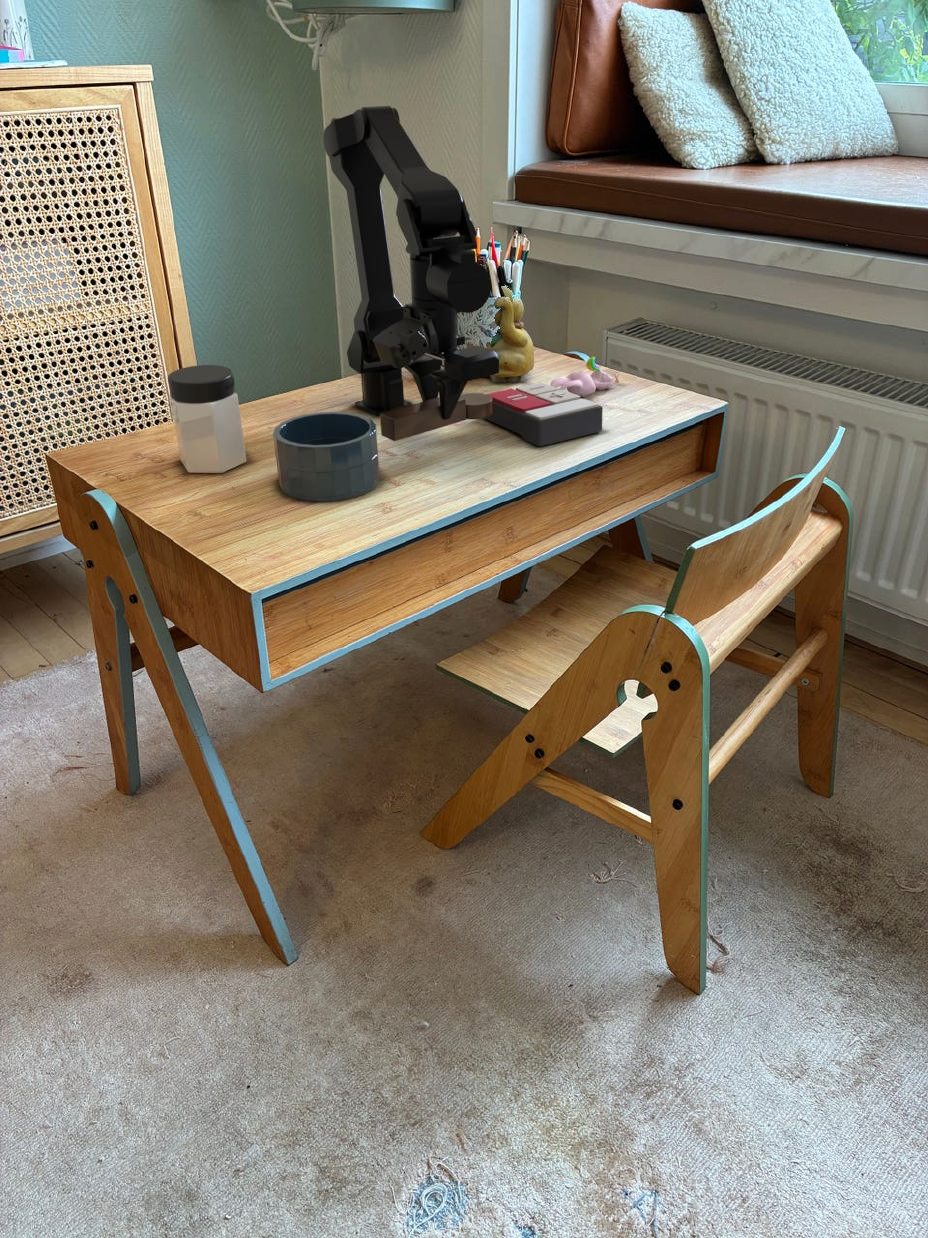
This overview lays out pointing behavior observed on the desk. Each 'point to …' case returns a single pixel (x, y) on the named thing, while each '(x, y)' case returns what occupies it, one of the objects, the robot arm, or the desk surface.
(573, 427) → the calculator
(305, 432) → the pot
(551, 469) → the desk surface
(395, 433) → the spoon
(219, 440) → the jar
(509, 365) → the decorative figurine
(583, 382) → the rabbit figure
